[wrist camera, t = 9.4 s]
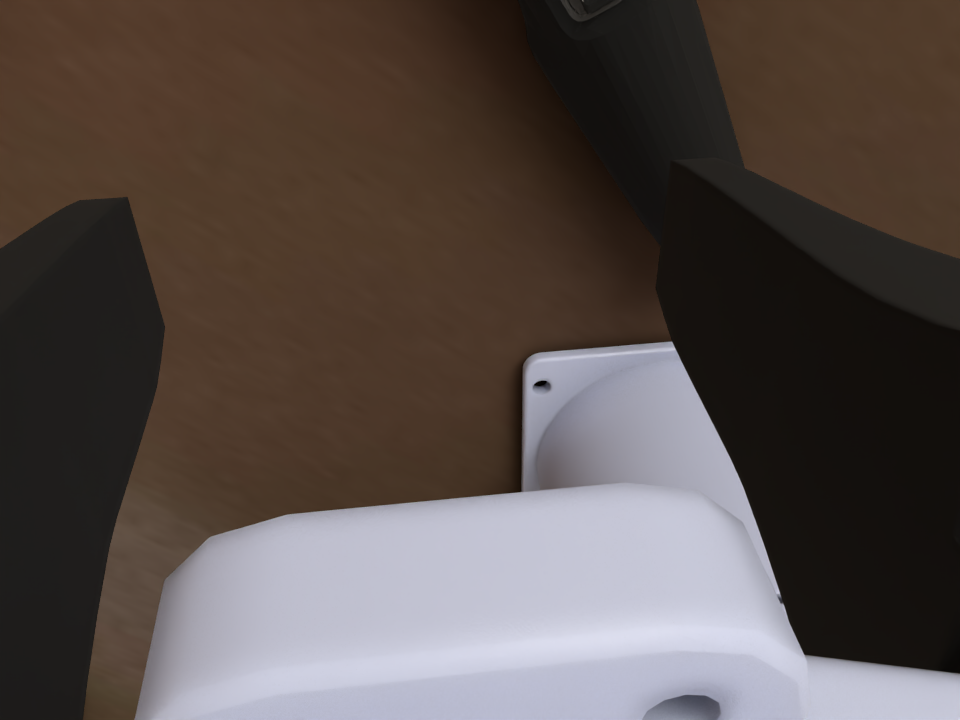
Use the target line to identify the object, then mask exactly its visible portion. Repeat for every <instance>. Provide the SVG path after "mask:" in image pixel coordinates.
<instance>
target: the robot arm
mask: <svg viewBox="0 0 960 720" xmlns="http://www.w3.org/2000/svg"><path fill="white" fill-rule="evenodd" d="M656 291H657V295H658V298H659V301H660V305H661V308H662V311H663V315H664V318H665V321H666V324H667V327H668V330H669V333H670V336H671V339H672V342H660V343H648V344H636V345H624V346H612V347H600V348H588V349H576V350H564V351H552V352H540V353H536V354H533V355H532V356H530V357H528V358H527V360H526V361H525V362H524V365H523V393H522V479H521V492H516V493H506V494H495V495H485V496H474V497H464V498H453V499H443V500H433V501H422V502H412V503H401V504H391V505H380V506H370V507H359V508H349V509H338V510H328V511H317V512H307V513H296V514H288V515H284V516H281V517H277V518H274V519H270V520H267V521H263V522H260V523H257V524H253V525H250V526H246V527H243V528H239V529H236V530H232V531H229V532H225V533H222V534H219V535H215V536H212V537H209V538H208V539H207V540H206V541H205V542H204V543H203V544H202V545H201V546H200V547H199V548H198V549H197V550H196V551H194V552H193V553H192V554H191V555H190V556H189V557H188V558H187V559H186V560H185V561H184V562H183V563H182V564H181V565H180V566H179V567H178V568H177V569H176V570H174V571H173V572H172V573H171V574H170V575H169V576H168V577H167V578H166V579H165V580H164V585H163V589H162V594H161V599H160V603H159V608H158V613H157V618H156V622H155V627H154V632H153V636H152V641H151V646H150V650H149V655H148V660H147V665H146V669H145V674H144V679H143V683H142V688H141V693H140V697H139V702H138V707H137V712H136V716H135V720H960V259H958V258H955V257H952V256H949V255H946V254H942V253H939V252H936V251H933V250H930V249H927V248H924V247H921V246H918V245H915V244H912V243H910V242H907V241H904V240H901V239H899V238H896V237H893V236H891V235H888V234H886V233H884V232H881V231H879V230H876V229H874V228H872V227H869V226H867V225H864V224H862V223H860V222H857V221H855V220H852V219H850V218H848V217H846V216H843V215H841V214H839V213H837V212H835V211H832V210H830V209H828V208H826V207H824V206H822V205H820V204H817V203H815V202H813V201H811V200H809V199H807V198H805V197H803V196H801V195H799V194H797V193H795V192H793V191H791V190H788V189H786V188H784V187H782V186H780V185H778V184H776V183H774V182H772V181H770V180H768V179H766V178H764V177H762V176H760V175H758V174H756V173H754V172H751V171H749V170H747V169H745V168H743V167H740V166H738V165H736V164H733V163H731V162H728V161H725V160H722V159H719V158H715V157H713V158H698V159H684V160H671V163H670V171H669V180H668V188H667V197H666V205H665V213H664V222H663V230H662V239H661V247H660V256H659V264H658V272H657V281H656ZM164 331H165V325H164V322H163V318H162V315H161V312H160V308H159V305H158V301H157V298H156V294H155V291H154V287H153V284H152V280H151V277H150V273H149V270H148V266H147V263H146V260H145V256H144V253H143V249H142V246H141V242H140V239H139V235H138V232H137V228H136V225H135V221H134V218H133V214H132V211H131V208H130V204H129V201H128V197H123V198H108V199H93V200H79V201H77V202H75V203H73V204H70V205H68V206H66V207H65V208H63V209H61V210H59V211H58V212H56V213H54V214H53V215H51V216H49V217H48V218H46V219H45V220H43V221H42V222H40V223H39V224H37V225H35V226H34V227H32V228H31V229H29V230H28V231H26V232H25V233H23V234H22V235H20V236H19V237H17V238H16V239H14V240H13V241H11V242H10V243H8V244H7V245H5V246H4V247H2V248H1V249H0V720H83V713H84V705H85V697H86V688H87V681H88V674H89V667H90V661H91V654H92V647H93V641H94V634H95V627H96V620H97V614H98V608H99V602H100V597H101V591H102V585H103V580H104V574H105V568H106V563H107V557H108V552H109V547H110V543H111V539H112V535H113V531H114V527H115V523H116V519H117V516H118V513H119V509H120V506H121V503H122V500H123V497H124V493H125V490H126V487H127V484H128V481H129V477H130V474H131V471H132V468H133V465H134V461H135V458H136V455H137V452H138V449H139V445H140V442H141V439H142V436H143V432H144V429H145V426H146V422H147V419H148V416H149V413H150V409H151V406H152V403H153V399H154V396H155V392H156V388H157V383H158V377H159V370H160V363H161V356H162V347H163V339H164ZM542 380H543V381H547V383H546V384H544V385H542V386H534V384H535V383H536V382H538V381H542Z"/></svg>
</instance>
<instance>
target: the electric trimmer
mask: <svg viewBox="0 0 960 720" xmlns="http://www.w3.org/2000/svg"><path fill="white" fill-rule="evenodd" d="M518 2H519V4H520V7H521V10H522V14H523V17H524V20H525V26H526V33H527V40H528V44H529V46H530V49H531V51H532V54H533V56H534V58H535V59H536V61H537V62H538V64H539V66H540V67H541V69H542V71H543V72H544V74H545V75H546V77H547V79H548V80H549V82H550V83H551V85H552V87H553V88H554V90H555V91H556V93H557V94H558V96H559V97H560V99H561V100H562V102H563V103H564V105H565V106H566V108H567V109H568V111H569V112H570V114H571V115H572V117H573V118H574V120H575V121H576V123H577V124H578V126H579V127H580V129H581V130H582V132H583V134H584V135H585V137H586V138H587V140H588V141H589V143H590V144H591V146H592V147H593V149H594V150H595V152H596V153H597V155H598V156H599V158H600V159H601V161H602V162H603V164H604V165H605V167H606V168H607V170H608V171H609V173H610V174H611V176H612V177H613V179H614V180H615V182H616V183H617V185H618V187H619V188H620V190H621V191H622V193H623V194H624V196H625V197H626V199H627V200H628V202H629V203H630V205H631V206H632V208H633V209H634V211H635V212H636V214H637V215H638V217H639V218H640V220H641V221H642V223H643V224H644V225H645V227H646V228H647V229H648V230H649V232H650V233H651V234H652V236H653V237H654V238H655V240H656V241H657V242H658V243H659V245H660V246H661V239H662V230H663V222H664V213H665V205H666V197H667V188H668V180H669V171H670V163H671V160H684V159H698V158H713V157H715V158H719V159H722V160H725V161H728V162H731V163H733V164H736V165H738V166H740V167H743V168H744V164H743V161H742V157H741V154H740V150H739V147H738V143H737V140H736V136H735V133H734V129H733V126H732V122H731V119H730V115H729V112H728V109H727V105H726V102H725V98H724V95H723V91H722V88H721V84H720V81H719V77H718V74H717V70H716V67H715V63H714V60H713V56H712V53H711V50H710V46H709V43H708V39H707V36H706V32H705V29H704V25H703V22H702V18H701V15H700V11H699V8H698V5H697V2H696V0H518Z"/></svg>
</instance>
